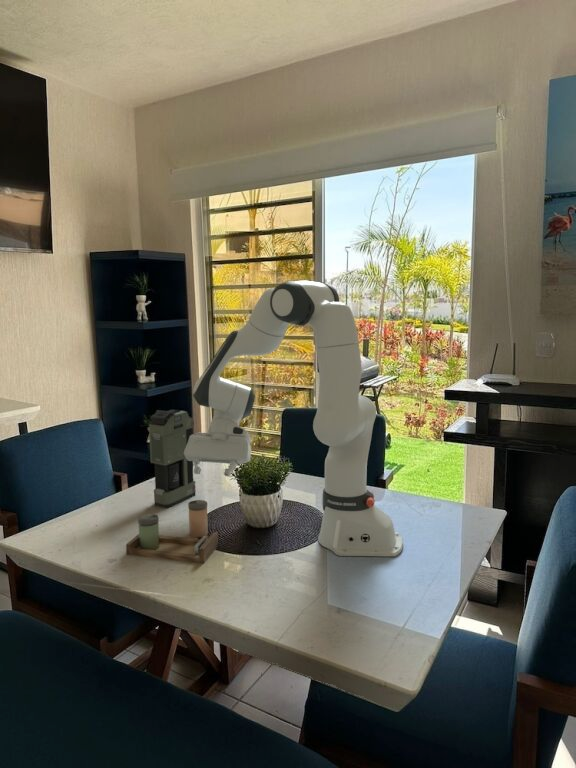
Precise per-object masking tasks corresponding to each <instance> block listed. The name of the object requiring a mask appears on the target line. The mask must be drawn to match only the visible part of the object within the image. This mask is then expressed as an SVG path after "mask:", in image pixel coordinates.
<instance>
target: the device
mask: <svg viewBox="0 0 576 768" xmlns="http://www.w3.org/2000/svg"><path fill="white" fill-rule="evenodd" d="M149 420H150V422H149V424H148V429H149V430H148V431H149V433H148V434H149V452H150V454H149V455H150V460H149V461H150V464H154V481H155V482H154V483H155V484H154V486H155V488H154V490H153V497H154V498H153V499H154V501H153V502H154V506H155V507H159V508H163V509H168V508H172V507H175V506H176V505H178V504H180V503H182V502H184V501H186V500H188V499H190V498H193V497H195V496H196V481H195V480H194V463H193V461H188V460H187V459H186V458H185V456H184V450H185V448H186V445H187V443H188V440H189V437H190V435H192V434H193V428H194V425H195V424H194V423H195V422H194V418H193V417H191V416H189V413H188V411H185V410H179V409H168V410H161V409H157V410H155V413H154V414H153V415H151V416H150V418H149Z"/></svg>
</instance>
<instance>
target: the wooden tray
mask: <svg viewBox="0 0 576 768" xmlns="http://www.w3.org/2000/svg"><path fill="white" fill-rule="evenodd" d="M200 539H201V538H193V537H192V538H190V537H180V536H171V535H161V534H159V548H158V549H157V550H148V549H140V544H139V533H138V534H136V536H134V537H133V538H131V540H130V541H128V542H127V543H126V546H125V548H126V556H128V555H129V556H135V557H146V558H153V559H163V560H170V561H180V562H189V563H196V564H197V563H198V564H205V563H206V562H207V560H208V559H209V558H210V557H211V556H212V554H213V553H214V552H215V551H216V549H217V548H218V547H219V532H217V531H213V532H212V533H211V534H210V536H208V539H207V540H206V541H205V542H204V544H203V545H202V546H201V547H200V548H199V555H195V547H194V546H195V545H196V544H197V543H198V542H199V540H200Z"/></svg>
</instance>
